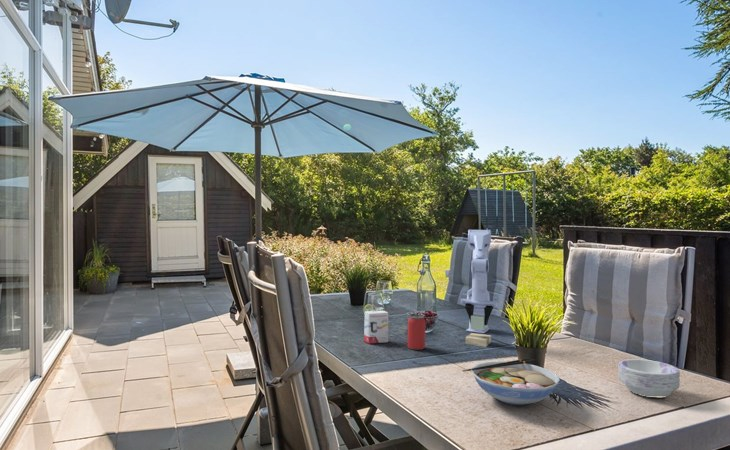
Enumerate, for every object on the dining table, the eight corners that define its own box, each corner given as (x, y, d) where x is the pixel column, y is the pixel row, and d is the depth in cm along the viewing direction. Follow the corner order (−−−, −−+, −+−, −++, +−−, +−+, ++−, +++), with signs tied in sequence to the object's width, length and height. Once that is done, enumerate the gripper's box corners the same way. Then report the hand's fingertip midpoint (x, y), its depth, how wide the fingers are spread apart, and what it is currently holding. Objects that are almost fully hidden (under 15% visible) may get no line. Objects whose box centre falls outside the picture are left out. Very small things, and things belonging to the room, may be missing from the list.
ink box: (368, 344, 186) (368, 313, 186) (363, 341, 191) (363, 311, 191) (388, 342, 190) (389, 312, 190) (383, 339, 195) (383, 310, 194)
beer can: (424, 346, 185) (425, 314, 185) (425, 350, 179) (425, 318, 178) (407, 345, 186) (408, 314, 186) (407, 350, 179) (407, 317, 179)
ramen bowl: (505, 424, 116) (505, 390, 116) (451, 392, 137) (452, 363, 137) (582, 409, 126) (582, 378, 126) (521, 381, 147) (521, 354, 147)
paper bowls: (608, 383, 147) (608, 357, 147) (659, 384, 147) (660, 358, 146) (634, 402, 132) (635, 373, 132) (691, 404, 131) (692, 374, 131)
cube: (473, 326, 194) (474, 313, 194) (486, 327, 192) (486, 315, 192) (470, 328, 190) (470, 316, 190) (483, 330, 188) (483, 317, 187)
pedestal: (471, 340, 197) (471, 333, 197) (491, 343, 193) (491, 335, 193) (465, 344, 190) (465, 337, 189) (485, 347, 186) (485, 340, 186)
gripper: (458, 289, 191) (457, 323, 191) (495, 292, 184) (494, 328, 184) (463, 286, 197) (463, 320, 197) (499, 290, 190) (499, 324, 190)
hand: (478, 323), depth 191 cm, fingers closed on cube, 5 cm apart
